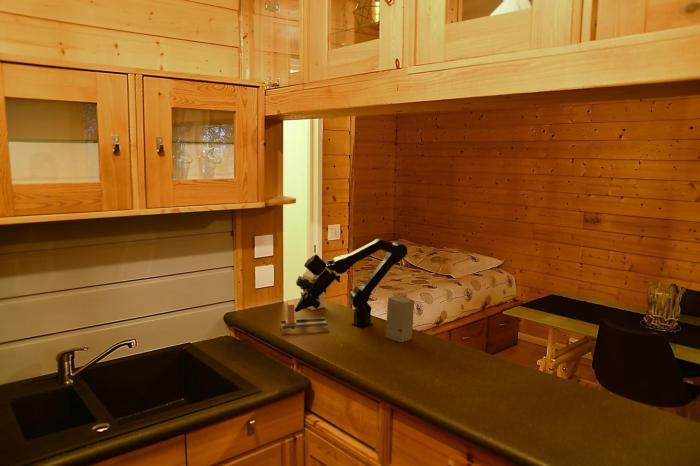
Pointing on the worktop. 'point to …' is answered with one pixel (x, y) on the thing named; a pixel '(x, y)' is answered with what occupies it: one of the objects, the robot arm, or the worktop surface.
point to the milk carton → (321, 299)
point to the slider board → (305, 326)
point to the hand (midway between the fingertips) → (295, 311)
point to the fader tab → (290, 313)
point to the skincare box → (399, 318)
